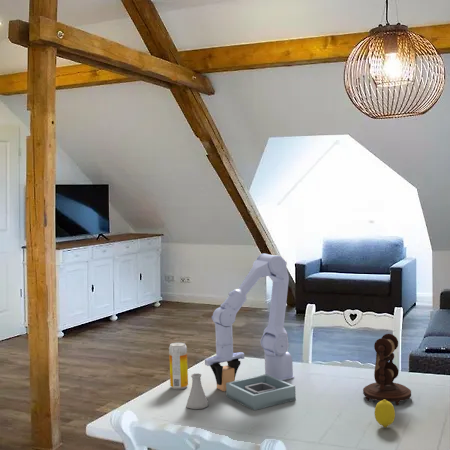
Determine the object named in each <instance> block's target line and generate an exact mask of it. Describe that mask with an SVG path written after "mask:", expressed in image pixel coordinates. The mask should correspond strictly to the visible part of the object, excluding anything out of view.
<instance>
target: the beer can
mask: <svg viewBox="0 0 450 450" xmlns="http://www.w3.org/2000/svg"><path fill="white" fill-rule="evenodd" d="M168 357H169V358H168V359H169V383H170V384H169V385H170V387H171V389H173V390H184V389H186V388H188V387H187V386H188V385H189V376H188V375H189V372H188V371H189V368H188V347H187V345H186V343H185V342H178V341H177V342H176V341H175V342H172V343H170V344H169V347H168Z"/></svg>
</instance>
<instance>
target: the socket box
mask: <svg viewBox="0 0 450 450" xmlns="http://www.w3.org/2000/svg"><path fill="white" fill-rule="evenodd" d="M225 392H226V397H227V398H229V399H231V400H233V401H234V402H237V403H238V402H239V404H240V403H241V405H242V404H243V405H242V406H244V405H245V407H246V406H247V407H246V408H248V407H249V408H248V409H250V408H251V409H250V410H252V409H253V410H252V411H256V410H261V409H265V408H268V407H272V406H277V405H280V404H285V403H288V402H292V401H293V402H294V401H296V398H297V397H296V395H297V394H296V385H293V384H291V383H289V382H288V381H287V382H286V380H280V379H277V378H275V377H272V376H270V375H268V374H265V373H264V374H259V375H255V376H252V377H247V378H243V379H238V380H235V381H233V382H228V383H226V391H225Z"/></svg>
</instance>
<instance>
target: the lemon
mask: <svg viewBox="0 0 450 450" xmlns="http://www.w3.org/2000/svg"><path fill="white" fill-rule="evenodd" d="M395 417H396V411H395V406H394V405H393V403H392V402H389V401H387V400H385V399H384V400H382V401H378V402H377V403H376V404H375V408H374V418H375V421H376V422H377V424H379V425H381V426H382V427H383V428H387V427H389V426H391V425H392V424H393V423H394V421H395V419H396V418H395Z"/></svg>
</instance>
